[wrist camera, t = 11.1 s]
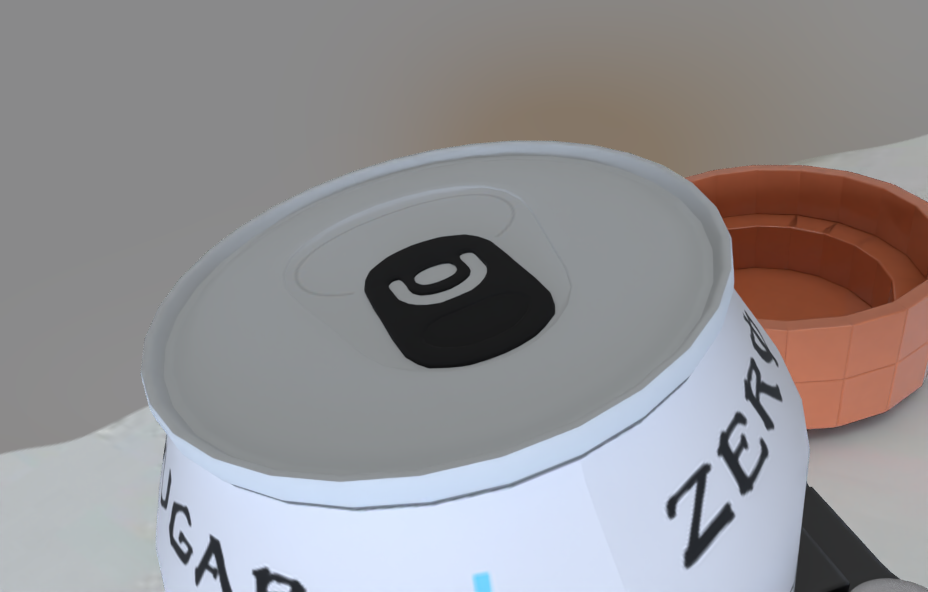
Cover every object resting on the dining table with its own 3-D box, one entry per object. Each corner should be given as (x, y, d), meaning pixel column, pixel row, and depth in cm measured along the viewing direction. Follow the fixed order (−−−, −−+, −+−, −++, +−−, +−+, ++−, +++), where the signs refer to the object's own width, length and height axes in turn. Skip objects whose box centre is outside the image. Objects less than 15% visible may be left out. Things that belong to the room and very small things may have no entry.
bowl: (863, 247, 37) (878, 149, 34) (996, 430, 26) (1035, 310, 23) (606, 273, 39) (599, 183, 36) (631, 451, 28) (624, 344, 25)
